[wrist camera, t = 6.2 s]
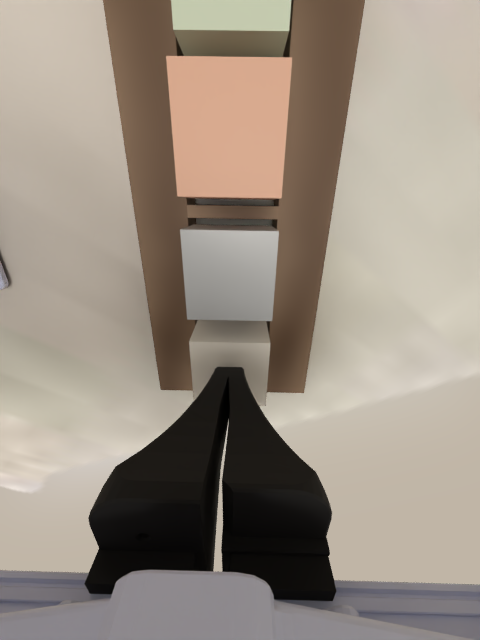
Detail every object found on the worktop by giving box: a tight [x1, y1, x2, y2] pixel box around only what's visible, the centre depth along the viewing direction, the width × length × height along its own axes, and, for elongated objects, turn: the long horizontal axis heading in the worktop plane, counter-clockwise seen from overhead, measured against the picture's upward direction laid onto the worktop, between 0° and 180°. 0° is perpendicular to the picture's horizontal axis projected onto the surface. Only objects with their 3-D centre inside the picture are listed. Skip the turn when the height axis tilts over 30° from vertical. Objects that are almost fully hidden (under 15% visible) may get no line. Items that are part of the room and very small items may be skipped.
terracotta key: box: [166, 56, 292, 200], centre depth 10 cm, size 4×4×3 cm
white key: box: [189, 320, 270, 406], centre depth 14 cm, size 4×4×3 cm
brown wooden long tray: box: [103, 0, 365, 393], centre depth 14 cm, size 10×23×2 cm, turn 179°
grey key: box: [180, 224, 279, 321], centre depth 12 cm, size 4×4×3 cm
